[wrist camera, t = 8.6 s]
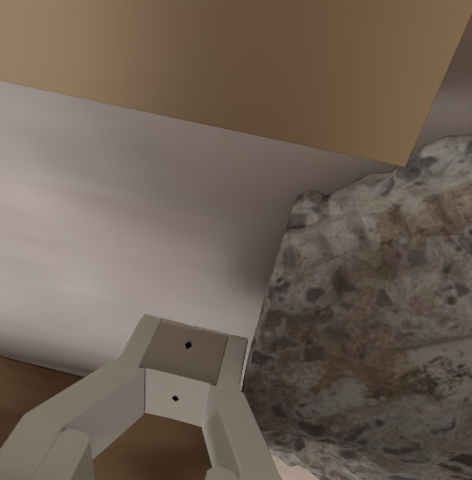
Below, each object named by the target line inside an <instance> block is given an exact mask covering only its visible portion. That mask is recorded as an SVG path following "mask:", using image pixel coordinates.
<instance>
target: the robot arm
mask: <svg viewBox="0 0 472 480" xmlns="http://www.w3.org/2000/svg"><path fill="white" fill-rule="evenodd" d="M228 337H229V338H228ZM247 343H248V339H247V338H244V337H239V336H235V335H231V334H230V335H229V334H227V333H223V332H218V331H214V330H209V329H205V328H201V327H196V326H190V325H186V324H183V323H179V322H175V321H171V320H168V319H164V318H159V317H155V316H151V315H147V314H144V315H143V316H142V317H141V319H140V321H139V323H138V324H137V326H136V328H135V330H134V332H133V334H132V336H131V338H130V339H129V341H128V343H127V345H126V347H125V349H124V351H123V353H122V355H121V356H120V358H119V360H118V362H117V361H111V362H109V363H107V364H106V365H104V366H102V367H101V368H99V369H98V370H96V371H94V372H93V373H91V374H89V375H88V376H86V377H85V378H83V379H81V380H80V381H78V382H76V383H75V384H73V385H71V386H70V387H68V388H67V389H65V390H63V391H62V392H60V393H58V394H57V395H55V396H54V397H52V398H50V399H49V400H47V401H45V402H44V403H42V404H40V405H39V406H37V407H36V408H34V409H32V410H31V411H29V412H27V413H26V414H24V415H23V417H22V418H21V420H20V421H19V423H18V424H17V426H16V427H15V428H14V430H13V431H12V433H11V434H10V436H9V437H8V439H7V440H6V442H5V443H4V444H3V446H2V447H1V449H0V480H95V477H94V469H93V461H92V460H93V459H94V458H95V457H96V456H98V455H99V454H100V453H101V452H102V451H103V450H104V449H105V448H107V447H108V446H109V445H110V444H111V443H112V442H113V441H114V440H116V439H117V438H118V437H119V436H120V435H121V434H122V433H124V432H125V431H126V430H127V429H128V428H129V427H130V426H131V425H133V424H134V423H135V422H136V421H137V420H138V419H139V418H140V417H142V416H143V415H144V413H149V414H153V415H158V416H162V417H167V418H171V419H175V420H179V421H182V422H186V423H189V424H193V425H196V426H200V427H202V431H203V434H204V438H205V442H206V446H207V449H208V453H209V457H210V461H211V464H212V468H210V469H209V470H207V473H206V478H205V480H282V479H281V477H280V475H279V472H278V470H277V468H276V465H275V463H274V461H273V459H272V456H271V454H270V452H269V449H268V447H267V445H266V443H265V440H264V438H263V436H262V433H261V431H260V429H259V427H258V424H257V422H256V420H255V417H254V415H253V413H252V411H251V408H250V406H249V404H248V401H247V399H246V397H245V395H244V393H242V392H239V391H238V390H239V385H240V379H241V374H242V369H243V364H244V359H245V354H246V348H247Z"/></svg>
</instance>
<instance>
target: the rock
mask: <svg viewBox="0 0 472 480" xmlns="http://www.w3.org/2000/svg"><path fill="white" fill-rule="evenodd" d="M241 392H242V393H244V395H245V397H246V399H247V401H248V404H249V406H250V408H251V411H252V413H253V415H254V417H255V420H256V422H257V424H258V427H259V429H260V431H261V433H262V436H263V438H264V440H265V443H266V445H267V447H268V449H269V451H270V453H271V454H274V455H276V456H277V457H278V458H280V459H281V460H282V461H283V462H285V463H286V464H287V465H289V466H290V467H291V466H296V465H299V466H301V467H303V468H304V469H308V470H309V471H310V472H311V473H313V474H314V475H315V476H316V477H317V478H319V479H320V480H472V134H468V135H461V136H446V137H443V138H441V139H438V140H436V141H434V142H431V143H429V144H426V145H424V146H423V147H422V148H421V149H420V150H419V151H417V152H416V153H415V154H414V155H412V156H411V157H410V158H409V159H408V161H407V163H406V166H405V167H403V166H398V167H396V168H395V169H394V170H392V171H391V172H389V173H386V174H369V175H367V176H365V177H363V178H361V179H359V180H357V181H355V182H354V183H352V184H350V185H348V186H346V187H344V188H343V189H340V190H338V191H336V192H334V193H332V194H329V195H327V196H326V195H324V194H322V193H320V192H318V191H308V192H306V193H303V194H300V195H298V196H297V198H296V199H295V202H294V206H293V209H292V211H291V214H290V217H289V221H288V224H287V228H286V231H285V234H284V236H283V239H282V241H281V245H280V248H279V251H278V254H277V257H276V260H275V264H274V267H273V270H272V274H271V277H270V281H269V284H268V288H267V292H266V295H265V299H264V302H263V306H262V310H261V313H260V317H259V321H258V324H257V328H256V331H255V334H254V337H253V341H252V344H251V348H250V352H249V356H248V360H247V365H246V370H245V375H244V381H243V387H242V391H241Z"/></svg>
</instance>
